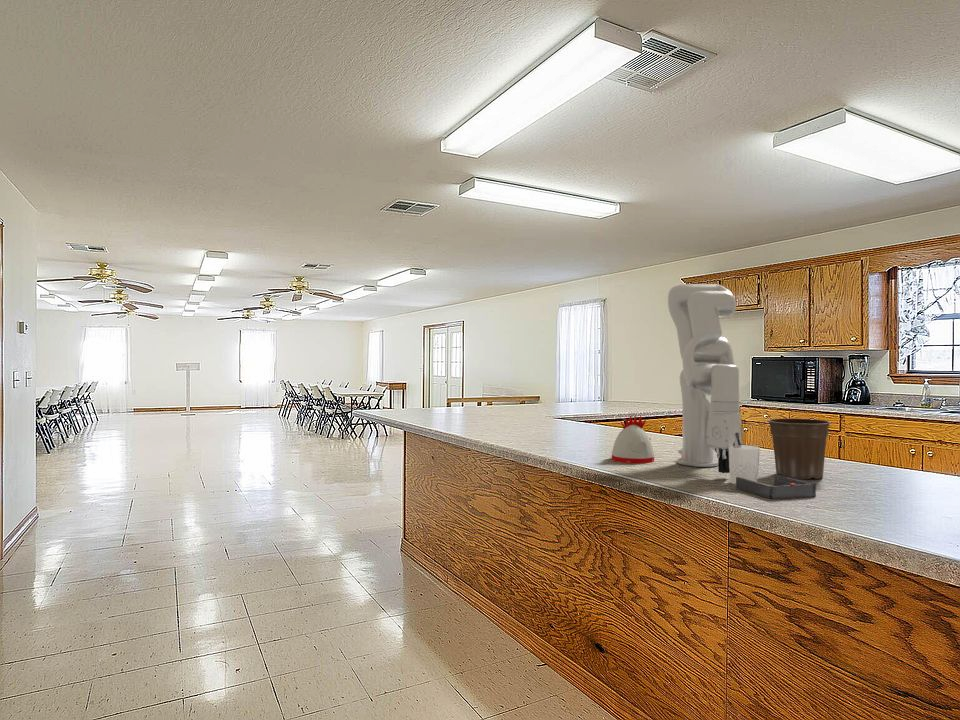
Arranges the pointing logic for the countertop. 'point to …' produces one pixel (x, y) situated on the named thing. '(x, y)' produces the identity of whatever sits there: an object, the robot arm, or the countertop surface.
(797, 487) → the bracket
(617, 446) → the white and red dome
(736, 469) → the white cup
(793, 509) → the countertop surface
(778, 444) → the plant pot
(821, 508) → the countertop surface
